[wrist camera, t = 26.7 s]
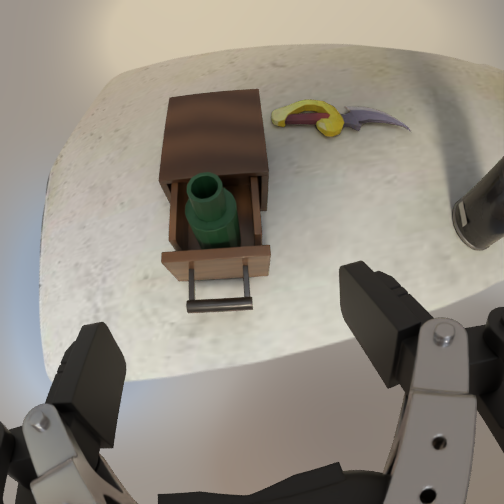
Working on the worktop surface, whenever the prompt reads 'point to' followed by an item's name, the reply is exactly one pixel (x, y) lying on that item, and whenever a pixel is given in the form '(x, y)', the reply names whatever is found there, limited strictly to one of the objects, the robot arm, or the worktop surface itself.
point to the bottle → (212, 212)
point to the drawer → (220, 259)
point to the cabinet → (215, 139)
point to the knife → (329, 116)
